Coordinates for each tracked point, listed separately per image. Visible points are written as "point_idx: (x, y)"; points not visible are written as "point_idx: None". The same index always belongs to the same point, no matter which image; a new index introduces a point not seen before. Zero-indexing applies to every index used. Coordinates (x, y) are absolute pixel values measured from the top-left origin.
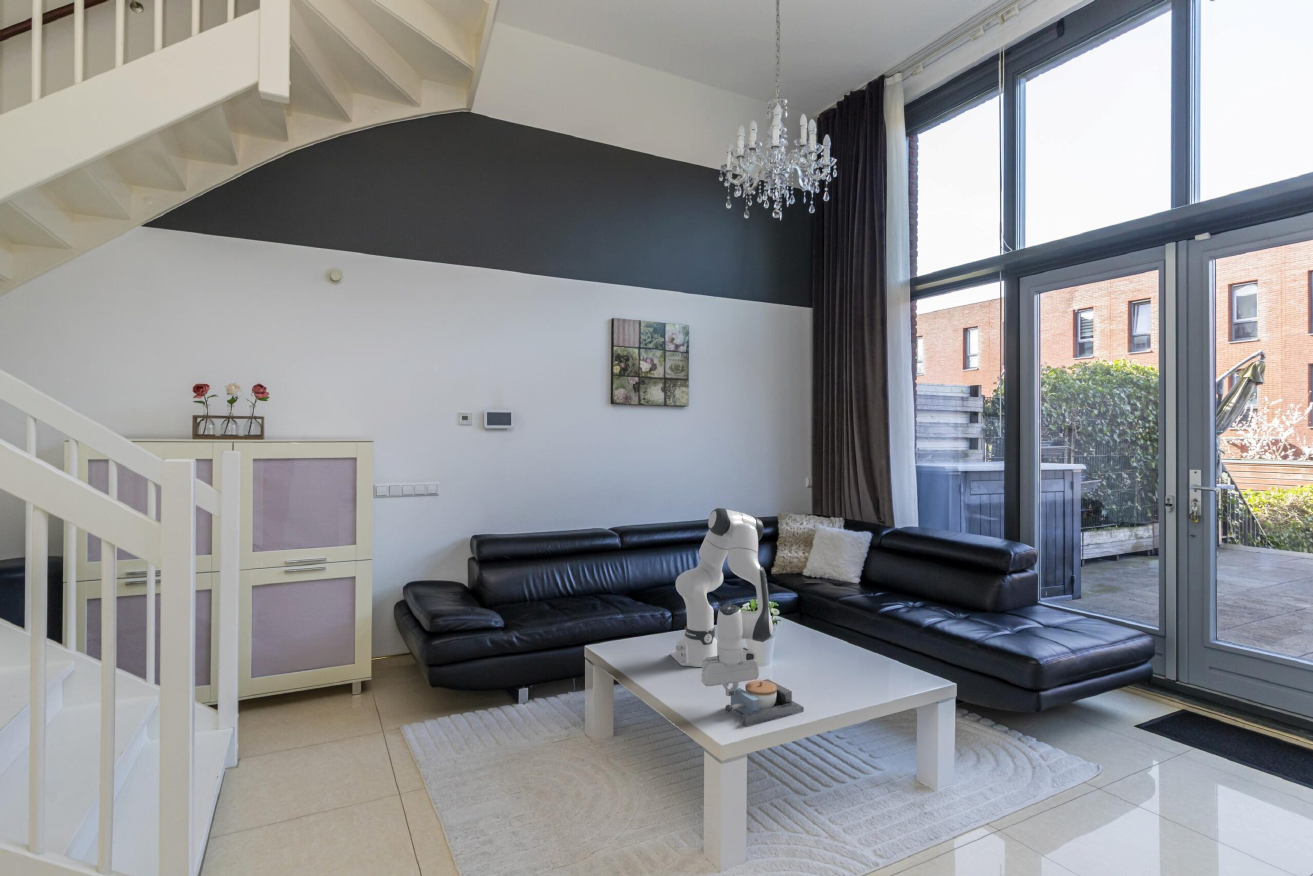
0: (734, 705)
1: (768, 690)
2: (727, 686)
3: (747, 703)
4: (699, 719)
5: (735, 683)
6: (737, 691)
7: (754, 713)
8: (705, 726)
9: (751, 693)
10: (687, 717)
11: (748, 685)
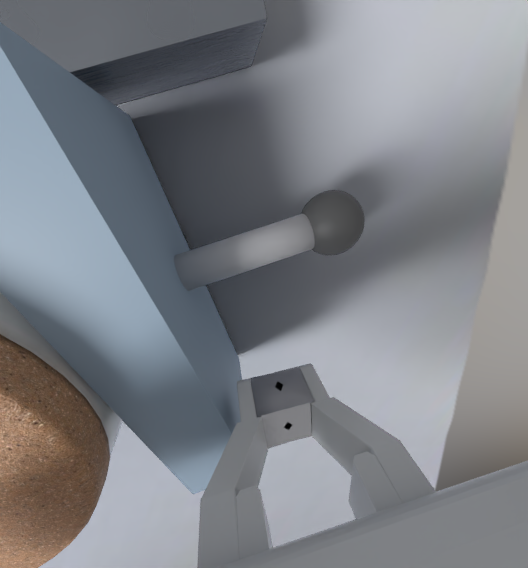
0: (283, 239)
1: None
2: (368, 453)
3: (143, 221)
4: (450, 233)
5: (252, 526)
6: (217, 410)
7: (87, 4)
8: (481, 126)
9: (25, 352)
10: (479, 267)
11: (41, 516)
